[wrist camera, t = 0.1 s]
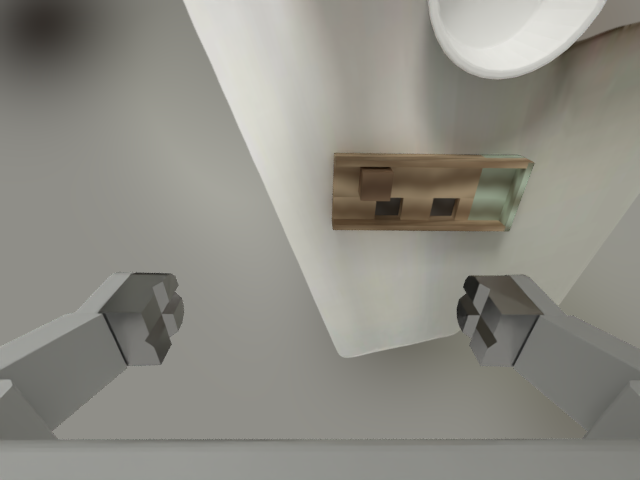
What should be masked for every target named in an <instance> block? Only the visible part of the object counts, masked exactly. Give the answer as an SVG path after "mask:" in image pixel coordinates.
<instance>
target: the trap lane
mask: <svg viewBox="0 0 640 480" xmlns="http://www.w3.org/2000/svg"><path fill="white" fill-rule="evenodd" d="M533 166H534V162H532V161H530V160H528V159H526V158H524V157H522V156H520V155H456V154H371V153H334V174H333V201H332V226H333V230H408V231H509V230H510V228H511V225H512V222H513V219H514V217H515V214H516V211H517V209H518V206H519V203H520V201H521V198H522V195H523V193H524V190H525V187H526V185H527V182H528V179H529V177H530V174H531V171H532V169H533ZM360 167H390V168H391V169H392V171H393V172H394V177H393V184H392V191H391V198H390V201H361V200H360V196H359V193H358V188H359V176H360Z"/></svg>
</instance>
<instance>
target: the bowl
mask: <svg viewBox="0 0 640 480" xmlns="http://www.w3.org/2000/svg"><path fill="white" fill-rule="evenodd" d="M606 1H607V0H428V7H429V15H430V21H431V24H432V27H433V30H434V33H435V37H436V39H437V41H438V42H439V44H440V46H441V48H442V50H443V51H444V53H445V54H446V55H447V56H448V57H449V58H450V60H451V61H452V62H453V63H454V64H455V65H456V66H458V67H459V68H461V69H462V70H464V71H465V72H467V73H469V74H472V75H475V76H478V77H481V78H485V79H497V80H500V79H508V78H515V77H518V76H521V75H524V74H527V73H530V72H533V71H535V70H537V69H539V68H540V67H542V66H544V65H546V64H548V63H550V62H551V61H553V60H554V59H555V58H556V57H558V56H559V55H560V54H562V53H563V52H564V51H566V50H567V49H568V48H569V47H570V46H571V45H572V44H573V43H574V42H575V41H576V40H577V39H578V38H579V37H580V36H581V35H582V34H583V33H584V32H585V31H586V30H587V28H588V27H589V26H590V25H591V23H592V22H593V21H594V19H595V18H596V17H597V16H598V14H599V13H600V11H601V10H602V8H603V6H604V4H605V3H606Z"/></svg>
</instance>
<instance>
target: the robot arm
mask: <svg viewBox="0 0 640 480" xmlns="http://www.w3.org/2000/svg"><path fill="white" fill-rule="evenodd" d="M177 287H178V282H177V279H176V276H175V275H173V274H171V273H137V272H136V273H133V272H132V273H130V272H117V273H114V274H111V275H110V277H109V278H108V279H107V280H106V281H105V282H104V283H103V284H102V285H101V286H100V287H99V288H98V289H97V290H96V291H95V292H94V293H93V294H92V295H91V296H90V297H89V298H88V299H87V300H86V301H85V302H84V304H83V305H82V306H81V307H80V308H79V309H78V310H77V311H76V312H75V313H71V314H69V313H68V314H66V315H64V316H61V317H59V318H57V319H55V320H53V321H51V322H49V323H47V324H45V325H43V326H41V327H39V328H37V329H35V330H33V331H31V332H29V333H27V334H25V335H23V336H21V337H19V338H17V339H15V340H13V341H11V342H9V343H7V344H5V345H3V346H0V480H640V349H639V348H637V347H635V346H633V345H631V344H629V343H627V342H625V341H623V340H621V339H619V338H617V337H615V336H613V335H611V334H609V333H607V332H605V331H603V330H601V329H599V328H597V327H595V326H593V325H591V324H589V323H587V322H585V321H583V320H581V319H579V318H577V317H575V316H567V315H566V314H565V313H564V312H563V311H562V310H561V309H560V308H559V307H558V306H557V305H556V304H555V303H554V302H553V301H552V300H551V299H550V298H549V297H548V296H547V295H546V294H545V292H544V291H543V290H542V289H541V288H540V287H539V286H538V285H537V284H536V283H535V282H534V281H533V280H532V279H531V278H530V277H528V276H526V275H505V276H468V277H467V279H466V280H465V283H464V286H463V288H464V290H465V291H466V294H465V295H464V296H462V297H461V298H460V299H459V302H458V305H457V320H458V323H459V326H460V328H461V330H462V332H463V333H464V334H466V335H468V336H469V337H470V338H471V342H470V347H471V349H472V351H473V353H474V355H475V356H476V358H477V360H478V362H479V364H480V366H506V367H507V366H508V367H513V369H514V370H516V371H517V372H518V373H519V374H520V375H521V376H523V377H524V378H525V379H526V380H528V381H529V382H530V383H531V384H532V385H533V386H534V387H536V388H537V389H538V390H539V391H541V392H542V393H543V394H544V395H545V396H546V397H548V398H549V399H550V400H551V401H552V402H554V403H555V404H556V405H557V406H558V407H560V408H561V409H562V410H563V411H564V412H565V413H566V414H568V415H569V416H570V417H571V418H572V419H574V420H575V421H576V422H577V423H578V424H580V425H581V426H582V427H583V428H584V429H585V430H587V431H588V432H587V433H586V434H585V435H584V437H583V438H582V439H168V440H167V439H148V440H147V439H146V440H145V439H144V440H143V439H139V440H138V439H135V440H134V439H126V440H125V439H120V440H119V439H115V440H114V439H111V440H110V439H107V440H105V439H102V440H101V439H97V440H95V439H94V440H93V439H92V440H90V439H88V440H87V439H85V440H84V439H76V440H75V439H71V440H58V438H57V437H56V436H55V435H54V433H53V432H52V431H53V430H54V429H55V428H56V427H58V426H59V425H60V424H61V423H62V422H63V421H65V420H66V419H67V418H68V417H69V416H71V415H72V414H73V413H74V412H75V411H77V410H78V409H79V408H80V407H81V406H82V405H84V404H85V403H86V402H87V401H89V400H90V399H91V398H92V397H93V396H94V395H96V394H97V393H98V392H99V391H100V390H102V389H103V388H104V387H105V386H106V385H107V384H109V383H110V382H111V381H112V380H113V379H115V378H116V377H117V376H118V375H119V374H121V373H122V372H123V371H124V370H125V369H127V366H146V365H161V364H162V362H163V360H164V358H165V356H166V354H167V352H168V350H169V348H170V346H171V345H172V344H171V341H170V338H169V337H171V336H172V335H174V334H175V333H176V332H178V330H179V328H180V326H181V324H182V321H183V316H184V304H183V300H182V298H181V297H180V296H179V295H178V294H177V293H176V292H175V291H176V289H177Z"/></svg>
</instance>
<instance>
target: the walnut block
mask: <svg viewBox="0 0 640 480" xmlns="http://www.w3.org/2000/svg"><path fill="white" fill-rule="evenodd" d="M393 177H394V172H393V171H392V169H391V168H390V167H360V176H359V188H358V193H359V196H360V200H361V201H390V198H391V191H392V184H393Z"/></svg>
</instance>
